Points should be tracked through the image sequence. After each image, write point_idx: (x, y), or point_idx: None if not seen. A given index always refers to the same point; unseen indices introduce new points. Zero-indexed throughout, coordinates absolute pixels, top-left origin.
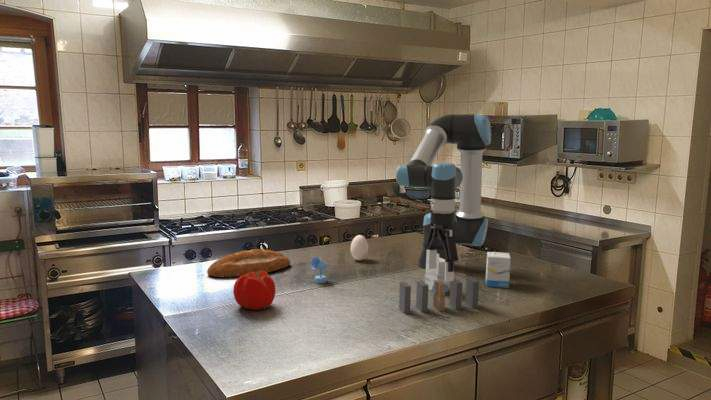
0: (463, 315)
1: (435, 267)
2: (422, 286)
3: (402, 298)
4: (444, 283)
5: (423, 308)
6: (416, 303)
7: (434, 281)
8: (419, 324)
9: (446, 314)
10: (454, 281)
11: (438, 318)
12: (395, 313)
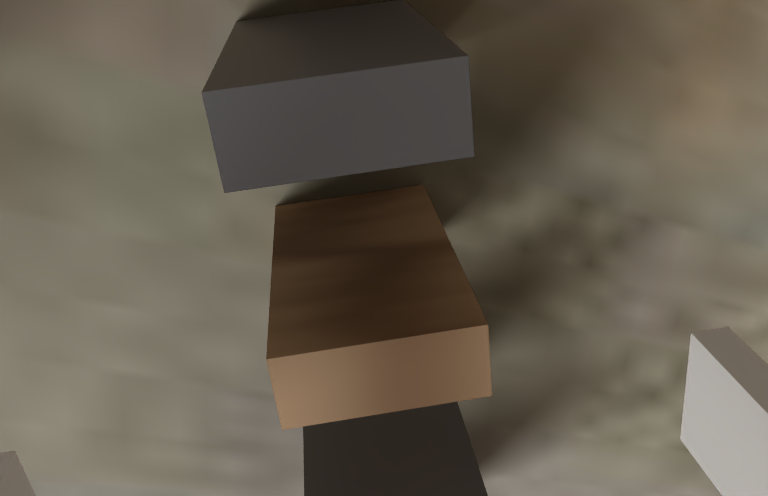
0: (575, 37)
1: (12, 478)
2: None
3: None
4: (454, 333)
5: None
6: None
7: (300, 416)
8: (666, 427)
9: (518, 192)
10: (375, 167)
11: (591, 280)
12: None
